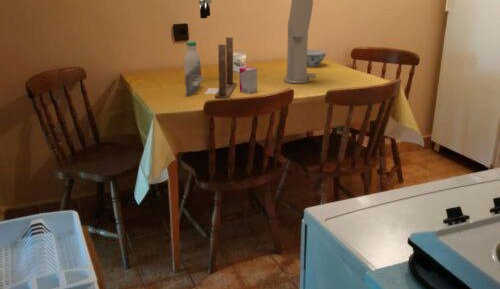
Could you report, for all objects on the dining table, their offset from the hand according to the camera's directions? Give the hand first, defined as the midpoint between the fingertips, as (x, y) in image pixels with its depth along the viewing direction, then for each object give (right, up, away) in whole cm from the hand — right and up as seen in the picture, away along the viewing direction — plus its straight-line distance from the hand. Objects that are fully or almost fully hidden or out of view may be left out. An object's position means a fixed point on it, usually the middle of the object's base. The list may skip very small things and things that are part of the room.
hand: (205, 17), depth 214 cm
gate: (+11, -37, -13) cm, 40 cm away
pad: (+7, -37, -12) cm, 40 cm away
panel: (-3, -37, -11) cm, 39 cm away
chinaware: (+56, -16, +41) cm, 71 cm away
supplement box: (+21, -38, -13) cm, 45 cm away
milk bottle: (-6, -31, +6) cm, 32 cm away
